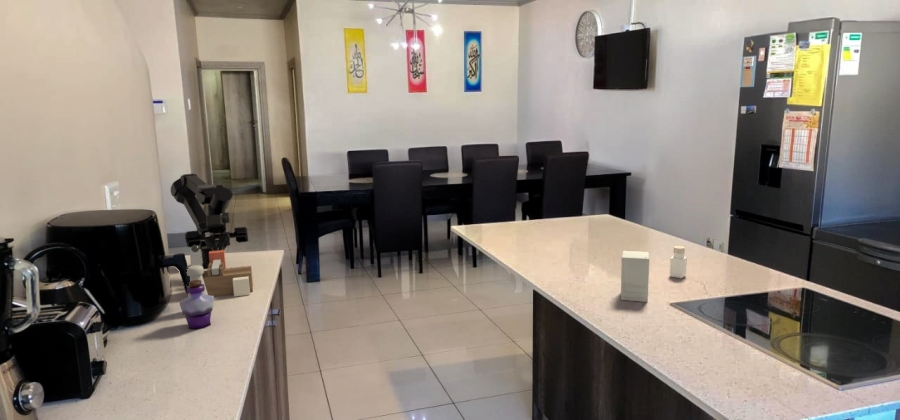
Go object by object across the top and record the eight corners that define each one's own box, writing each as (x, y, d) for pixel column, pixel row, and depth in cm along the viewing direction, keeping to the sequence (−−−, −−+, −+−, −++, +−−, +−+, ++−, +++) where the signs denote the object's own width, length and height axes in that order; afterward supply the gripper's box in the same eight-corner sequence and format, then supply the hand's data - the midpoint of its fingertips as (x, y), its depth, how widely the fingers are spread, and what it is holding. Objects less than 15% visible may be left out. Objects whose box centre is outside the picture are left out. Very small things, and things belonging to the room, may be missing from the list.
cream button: (234, 293, 174) (232, 278, 173) (249, 292, 175) (248, 276, 174) (234, 296, 172) (232, 280, 171) (249, 294, 173) (248, 278, 172)
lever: (192, 278, 171) (189, 245, 173) (203, 277, 172) (201, 244, 174) (191, 277, 169) (188, 244, 170) (202, 276, 170) (200, 243, 171)
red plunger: (211, 269, 184) (209, 251, 183) (226, 268, 185) (224, 250, 184) (208, 281, 172) (206, 262, 171) (224, 279, 173) (222, 260, 172)
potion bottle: (191, 319, 155) (186, 276, 152) (223, 318, 154) (218, 275, 152) (175, 332, 146) (169, 286, 144) (208, 331, 146) (204, 286, 144)
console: (191, 291, 178) (188, 265, 176) (252, 284, 183) (250, 259, 182) (188, 299, 170) (185, 272, 169) (252, 291, 176) (250, 265, 174)
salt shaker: (202, 315, 157) (197, 269, 154) (183, 314, 158) (178, 269, 156) (214, 308, 163) (210, 263, 160) (196, 307, 164) (191, 262, 161)
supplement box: (647, 294, 167) (649, 251, 164) (647, 302, 160) (649, 258, 157) (621, 291, 169) (622, 249, 167) (619, 300, 162) (621, 256, 160)
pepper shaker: (686, 276, 182) (688, 246, 180) (681, 279, 179) (683, 249, 177) (673, 273, 185) (675, 244, 183) (668, 276, 182) (670, 247, 180)
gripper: (182, 207, 183) (182, 248, 175) (244, 202, 189) (247, 242, 181) (187, 226, 192) (188, 267, 184) (246, 221, 198) (249, 260, 190)
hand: (218, 259), depth 184 cm, fingers closed, pressing on red plunger
